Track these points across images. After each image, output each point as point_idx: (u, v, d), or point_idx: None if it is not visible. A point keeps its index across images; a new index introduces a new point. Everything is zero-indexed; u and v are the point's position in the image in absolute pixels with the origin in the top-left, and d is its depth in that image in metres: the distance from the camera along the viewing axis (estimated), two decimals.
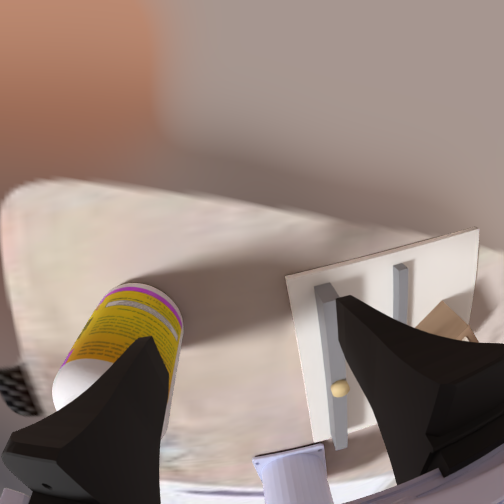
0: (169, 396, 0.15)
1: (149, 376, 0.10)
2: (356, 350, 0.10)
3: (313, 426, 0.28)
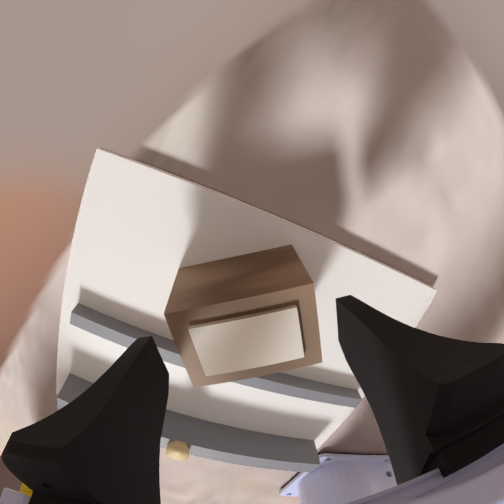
0: None
1: (149, 376, 0.10)
2: (356, 350, 0.10)
3: None
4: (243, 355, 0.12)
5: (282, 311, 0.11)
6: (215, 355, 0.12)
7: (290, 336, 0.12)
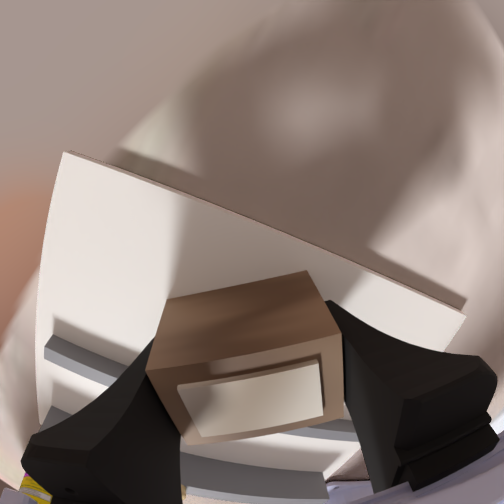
0: None
1: None
2: None
3: None
4: (248, 416, 0.09)
5: (299, 369, 0.08)
6: (213, 417, 0.09)
7: (308, 395, 0.09)
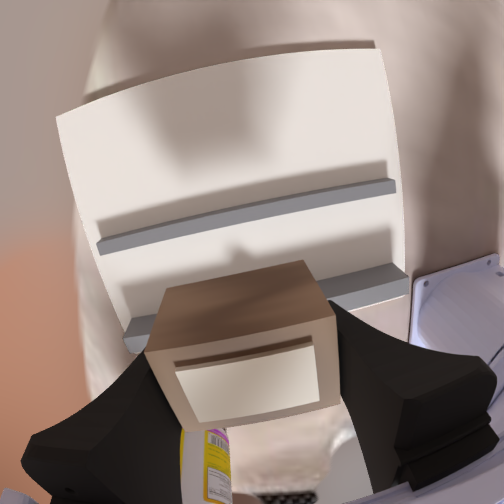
0: (182, 490, 0.17)
1: None
2: None
3: None
4: (245, 401, 0.09)
5: (295, 351, 0.09)
6: (210, 401, 0.09)
7: (303, 379, 0.09)
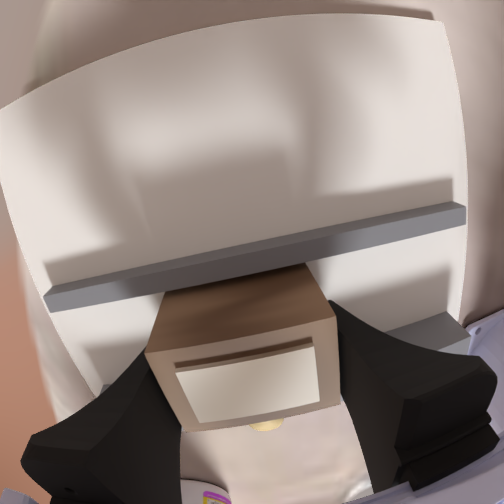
0: None
1: None
2: None
3: None
4: (245, 401, 0.09)
5: (295, 352, 0.09)
6: (210, 401, 0.09)
7: (304, 379, 0.09)
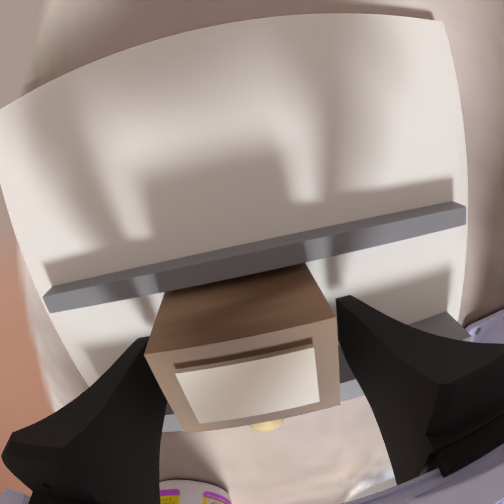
0: None
1: (149, 376, 0.10)
2: (356, 350, 0.10)
3: None
4: (245, 402, 0.09)
5: (295, 352, 0.09)
6: (210, 402, 0.09)
7: (304, 380, 0.09)
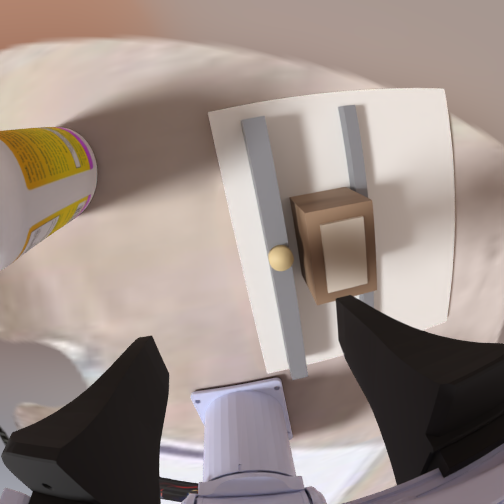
0: (36, 190, 0.11)
1: (149, 376, 0.10)
2: (356, 350, 0.10)
3: (262, 344, 0.24)
4: (337, 252, 0.17)
5: (366, 275, 0.17)
6: (340, 233, 0.16)
7: (347, 282, 0.17)
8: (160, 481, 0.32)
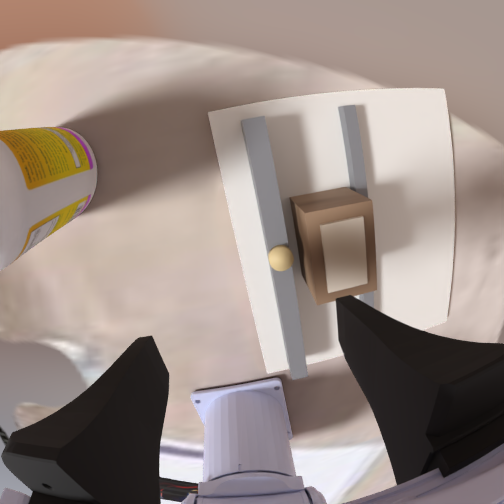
0: (36, 190, 0.11)
1: (149, 376, 0.10)
2: (356, 350, 0.10)
3: (262, 344, 0.24)
4: (337, 252, 0.17)
5: (366, 275, 0.17)
6: (340, 233, 0.16)
7: (347, 282, 0.17)
8: (160, 481, 0.32)
